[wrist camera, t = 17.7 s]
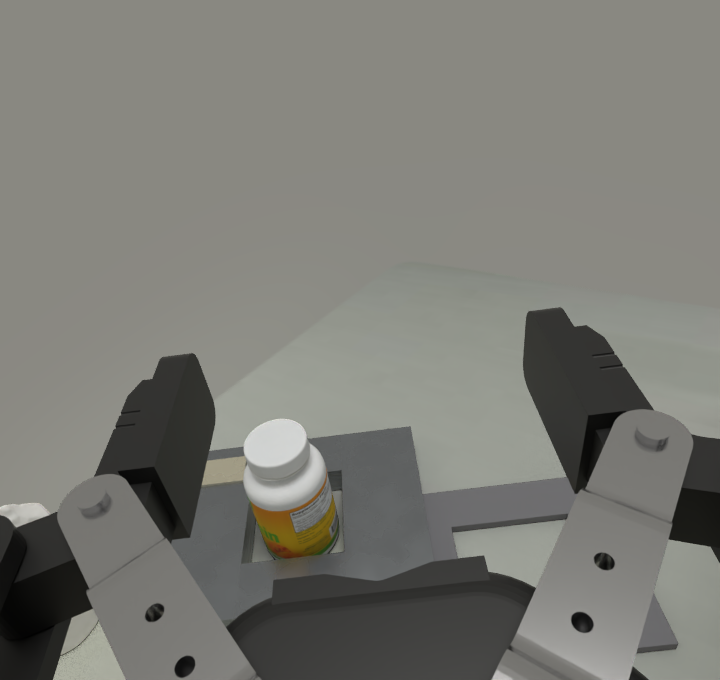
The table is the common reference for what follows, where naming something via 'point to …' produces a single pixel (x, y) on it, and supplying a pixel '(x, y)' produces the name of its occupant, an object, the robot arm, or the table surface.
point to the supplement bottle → (289, 491)
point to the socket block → (360, 517)
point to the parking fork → (519, 508)
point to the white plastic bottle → (79, 623)
